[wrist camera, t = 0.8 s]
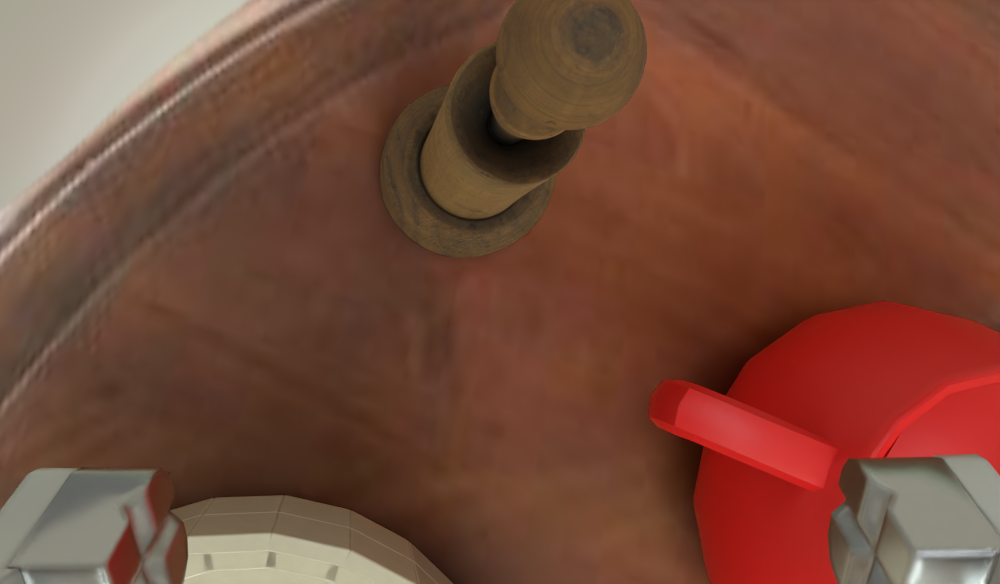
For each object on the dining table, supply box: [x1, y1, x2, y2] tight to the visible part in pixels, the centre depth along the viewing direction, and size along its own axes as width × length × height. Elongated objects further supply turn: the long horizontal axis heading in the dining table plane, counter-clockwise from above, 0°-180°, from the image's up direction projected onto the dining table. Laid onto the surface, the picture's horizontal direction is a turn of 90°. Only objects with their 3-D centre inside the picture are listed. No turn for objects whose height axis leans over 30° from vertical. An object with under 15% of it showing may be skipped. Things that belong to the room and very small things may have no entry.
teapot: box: [648, 301, 1000, 584], centre depth 30 cm, size 25×16×12 cm, turn 67°
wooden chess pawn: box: [380, 0, 647, 258], centre depth 24 cm, size 7×6×18 cm
